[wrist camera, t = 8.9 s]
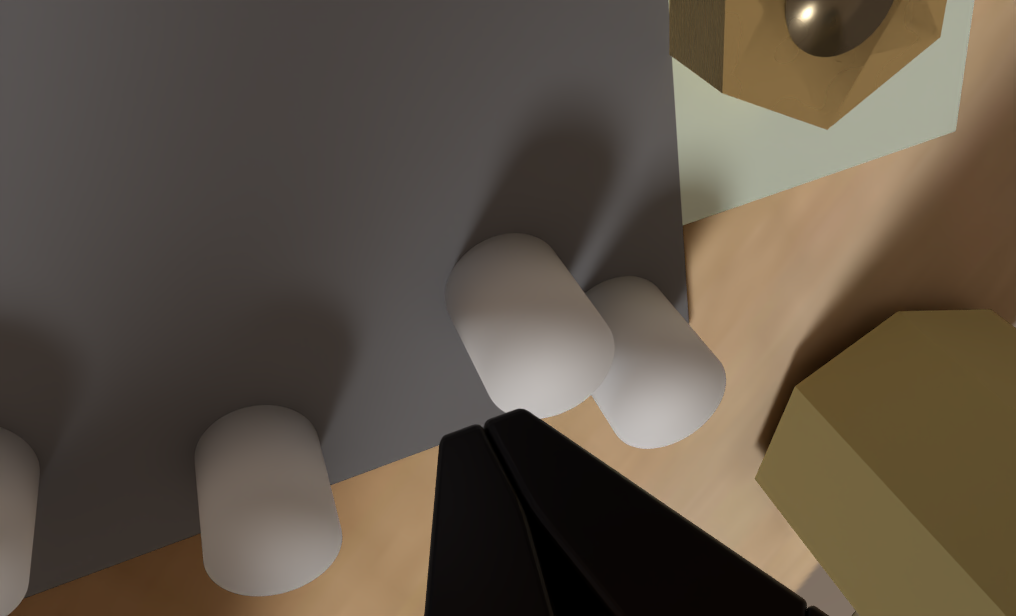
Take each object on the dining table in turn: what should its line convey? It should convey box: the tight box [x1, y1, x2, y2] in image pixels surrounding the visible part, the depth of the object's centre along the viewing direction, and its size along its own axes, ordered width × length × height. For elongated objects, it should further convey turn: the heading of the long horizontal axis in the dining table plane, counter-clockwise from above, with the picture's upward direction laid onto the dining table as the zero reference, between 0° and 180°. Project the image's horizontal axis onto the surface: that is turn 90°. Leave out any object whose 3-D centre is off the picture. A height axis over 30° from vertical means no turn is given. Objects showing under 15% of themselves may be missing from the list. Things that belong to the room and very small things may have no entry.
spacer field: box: [0, 0, 726, 616], centre depth 16 cm, size 20×19×4 cm
